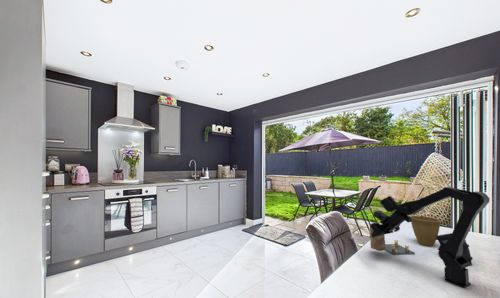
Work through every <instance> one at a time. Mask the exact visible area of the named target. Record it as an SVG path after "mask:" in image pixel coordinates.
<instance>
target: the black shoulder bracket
mask: <svg viewBox="0 0 500 298" xmlns="http://www.w3.org/2000/svg"><path fill="white" fill-rule="evenodd" d="M451 235H452V232H451V233H446V234H445V233H444V234H438V236H436V241H438V243H439V244H440V243H441V242H442V241H445V240H449V239H450V237H451ZM439 247H440V245H439ZM439 247H438V248H439ZM469 247H470V245H469V244H468V243H467V240H466V239H465V241H464V243H463V253H462V256H463V257H464V258H465V259H466V260H467V261H468V262H469V263H470V264H469V266H471V265H472V263H473V262H472V260H473V257H472V256H471V251H470V248H469ZM469 266H468V267H469Z"/></svg>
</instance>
